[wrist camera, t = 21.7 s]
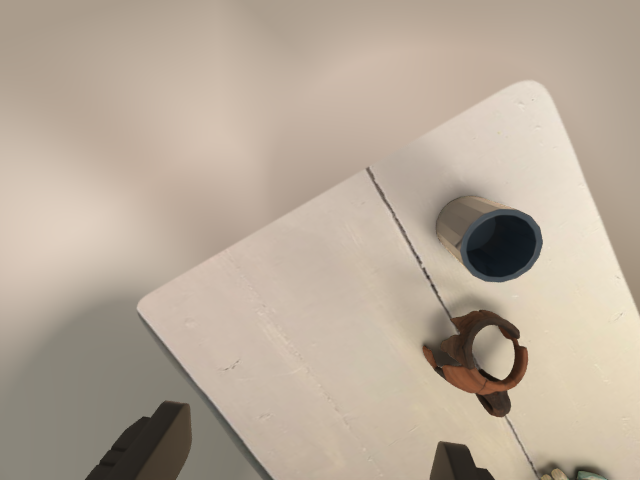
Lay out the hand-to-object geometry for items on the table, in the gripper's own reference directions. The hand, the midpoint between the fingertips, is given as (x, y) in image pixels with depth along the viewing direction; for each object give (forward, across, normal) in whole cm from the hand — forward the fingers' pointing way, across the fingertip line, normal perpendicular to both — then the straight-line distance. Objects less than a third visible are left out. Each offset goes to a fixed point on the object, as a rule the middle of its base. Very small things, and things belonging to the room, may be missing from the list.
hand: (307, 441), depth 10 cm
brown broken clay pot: (+26, -17, +12) cm, 34 cm away
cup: (+26, -14, -2) cm, 30 cm away
